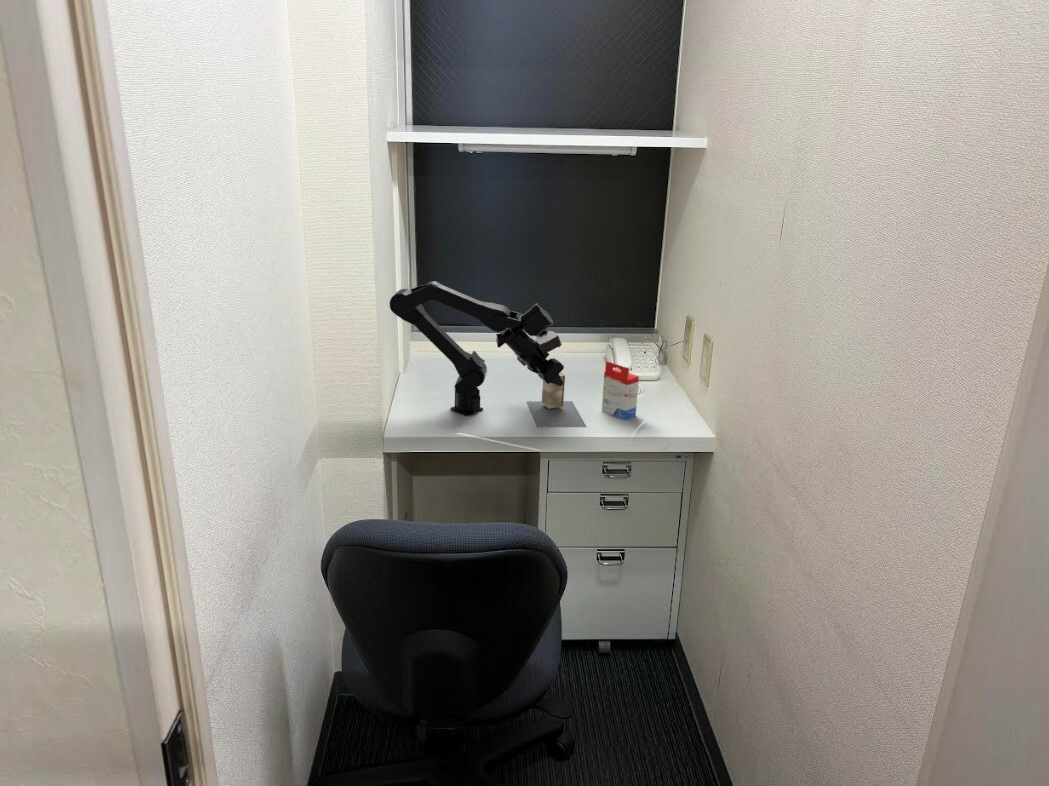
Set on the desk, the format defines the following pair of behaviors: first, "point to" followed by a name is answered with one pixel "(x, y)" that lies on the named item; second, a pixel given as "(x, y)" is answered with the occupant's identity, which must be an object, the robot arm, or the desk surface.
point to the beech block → (553, 394)
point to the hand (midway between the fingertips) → (558, 381)
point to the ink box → (619, 391)
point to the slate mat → (555, 415)
